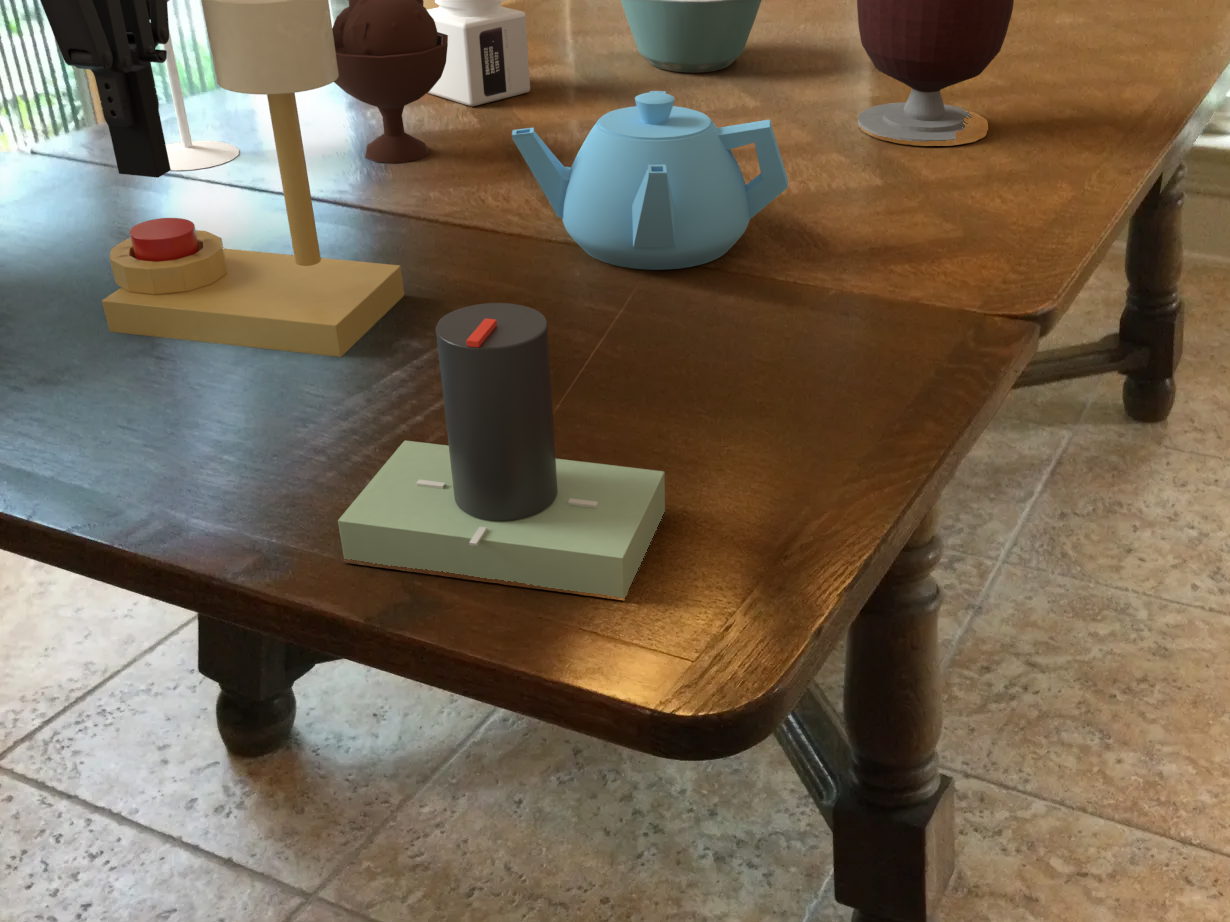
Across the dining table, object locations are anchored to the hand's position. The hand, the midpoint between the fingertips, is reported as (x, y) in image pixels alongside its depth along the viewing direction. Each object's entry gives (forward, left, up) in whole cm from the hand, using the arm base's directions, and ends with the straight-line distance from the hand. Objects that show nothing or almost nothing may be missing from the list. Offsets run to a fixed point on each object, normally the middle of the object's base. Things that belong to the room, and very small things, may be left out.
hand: (144, 171), depth 85 cm
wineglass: (-16, +29, -9) cm, 34 cm away
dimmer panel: (+31, -22, -9) cm, 39 cm away
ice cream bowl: (+1, +34, -9) cm, 35 cm away
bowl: (+19, +71, -9) cm, 74 cm away
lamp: (+10, 0, -5) cm, 11 cm away
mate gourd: (+46, +54, -9) cm, 72 cm away
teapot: (+28, +19, -9) cm, 35 cm away
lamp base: (+6, 0, -9) cm, 11 cm away
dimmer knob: (+31, -22, -6) cm, 39 cm away
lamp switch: (0, 0, -6) cm, 5 cm away
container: (+1, +54, -9) cm, 55 cm away
